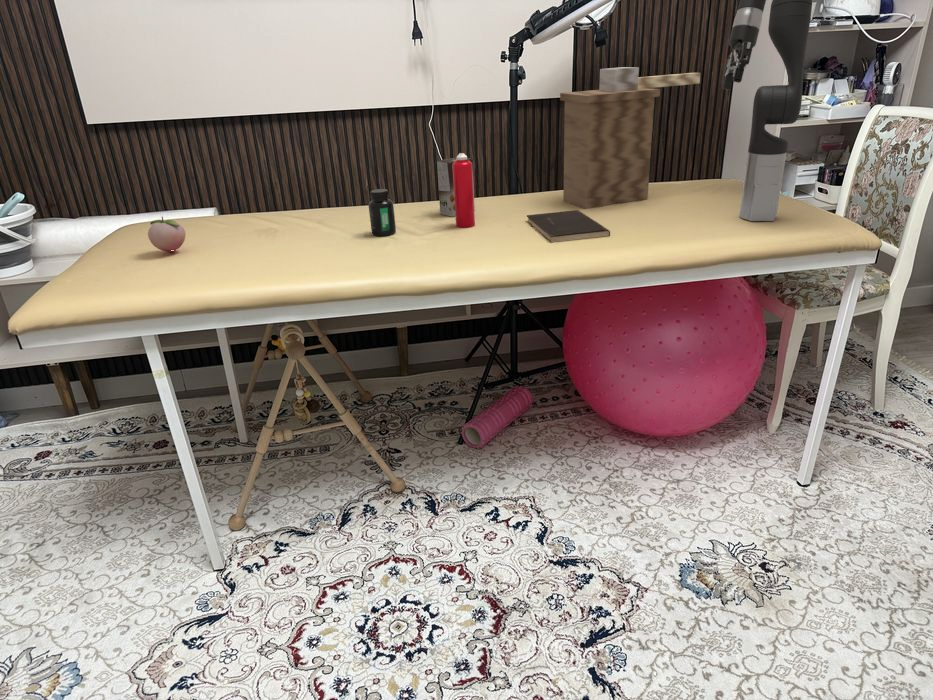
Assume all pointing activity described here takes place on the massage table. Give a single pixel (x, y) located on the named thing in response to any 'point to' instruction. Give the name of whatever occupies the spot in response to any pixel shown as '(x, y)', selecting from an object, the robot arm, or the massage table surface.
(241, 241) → the massage table surface
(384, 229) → the supplement bottle
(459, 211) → the bottle
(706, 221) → the massage table surface
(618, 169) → the plinth
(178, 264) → the massage table surface
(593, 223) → the hardcover book
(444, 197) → the coffee box
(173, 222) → the decorative fruit
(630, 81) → the bar
